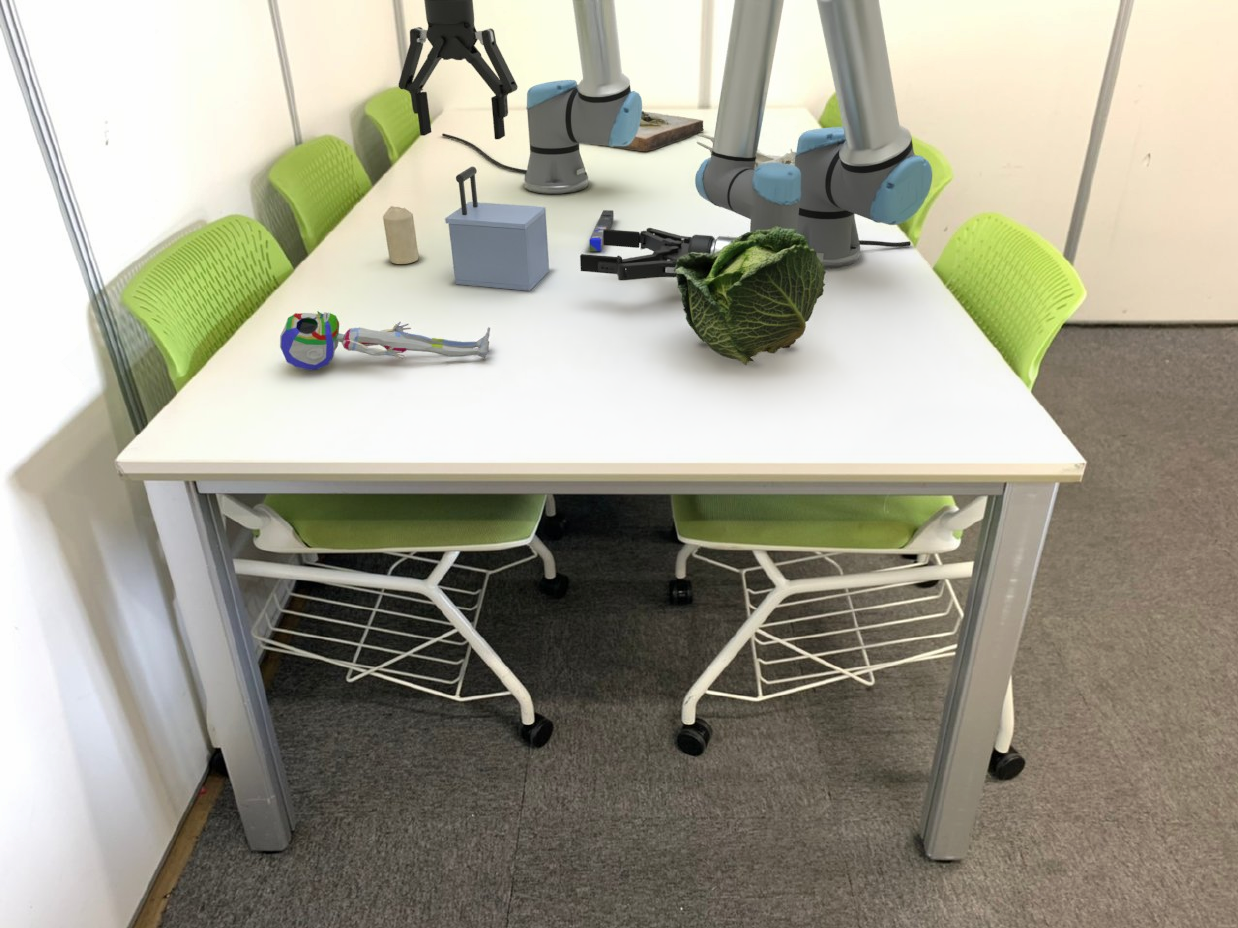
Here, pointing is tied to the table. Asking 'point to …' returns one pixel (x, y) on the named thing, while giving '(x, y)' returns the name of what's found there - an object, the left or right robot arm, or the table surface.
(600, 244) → the pillar
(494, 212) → the lid
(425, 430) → the table surface
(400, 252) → the candle
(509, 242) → the chest
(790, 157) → the anatomical model
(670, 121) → the plaque
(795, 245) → the vegetable
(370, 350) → the toy
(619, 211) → the table surface
